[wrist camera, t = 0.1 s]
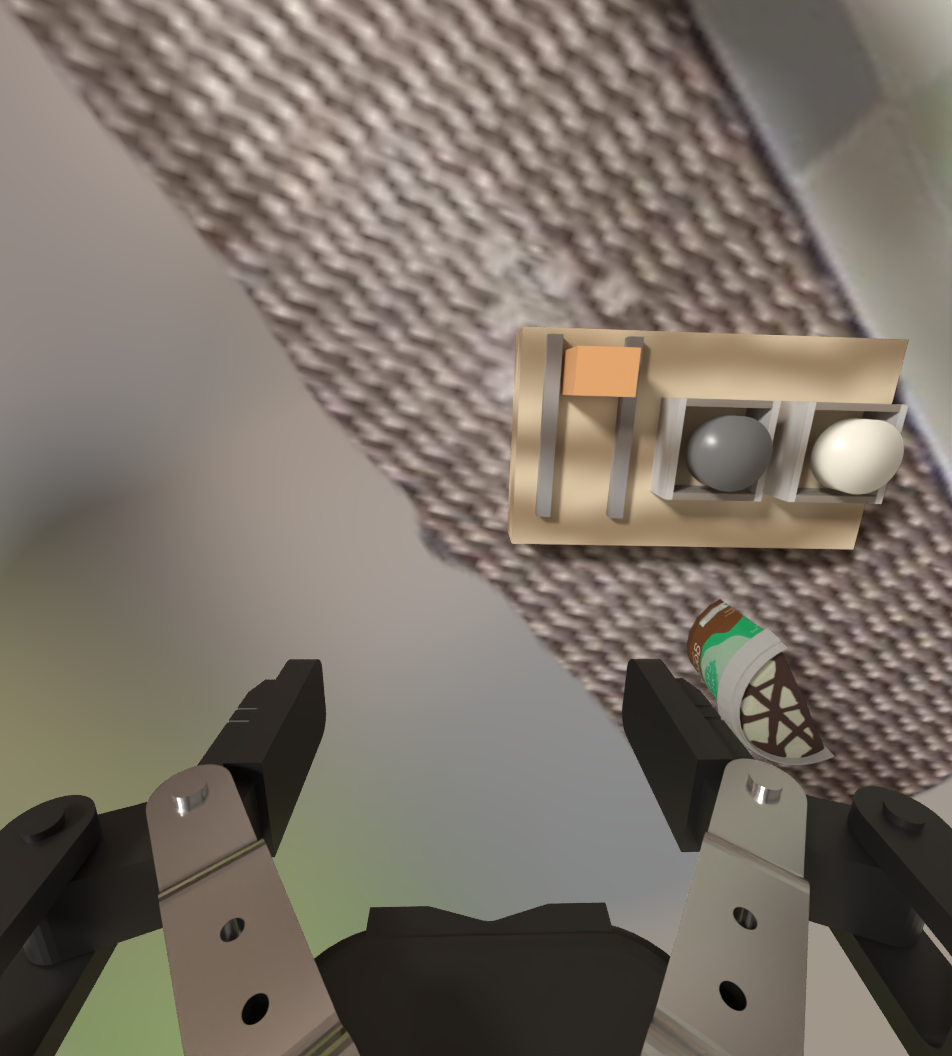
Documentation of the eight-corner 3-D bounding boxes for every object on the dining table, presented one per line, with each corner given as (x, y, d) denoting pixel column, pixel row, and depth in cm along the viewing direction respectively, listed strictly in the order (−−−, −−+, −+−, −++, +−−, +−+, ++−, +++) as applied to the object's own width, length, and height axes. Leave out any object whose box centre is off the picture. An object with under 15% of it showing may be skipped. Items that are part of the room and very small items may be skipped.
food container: (653, 617, 45) (706, 680, 35) (714, 586, 44) (784, 641, 34) (703, 712, 48) (763, 794, 38) (760, 685, 47) (837, 761, 37)
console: (516, 333, 37) (528, 320, 30) (863, 344, 38) (949, 335, 31) (507, 529, 42) (516, 556, 35) (818, 534, 43) (884, 562, 36)
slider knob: (564, 350, 34) (578, 345, 30) (620, 352, 34) (641, 347, 30) (561, 394, 34) (573, 395, 31) (616, 396, 35) (635, 397, 31)
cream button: (819, 417, 33) (839, 418, 31) (889, 419, 33) (913, 420, 31) (803, 488, 34) (821, 493, 32) (870, 489, 34) (892, 495, 33)
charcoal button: (691, 413, 32) (704, 415, 31) (762, 415, 33) (779, 417, 31) (680, 485, 34) (692, 490, 32) (749, 487, 34) (764, 492, 32)
